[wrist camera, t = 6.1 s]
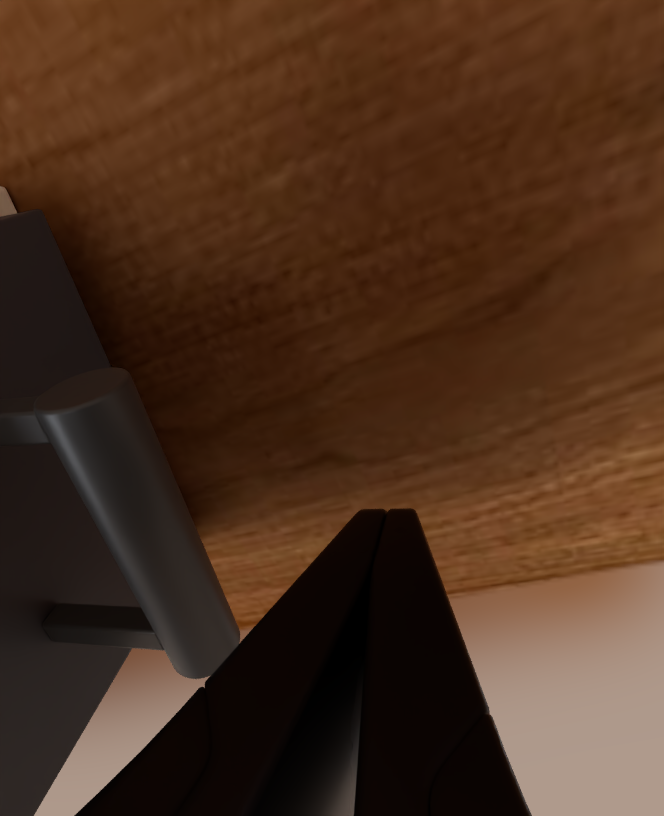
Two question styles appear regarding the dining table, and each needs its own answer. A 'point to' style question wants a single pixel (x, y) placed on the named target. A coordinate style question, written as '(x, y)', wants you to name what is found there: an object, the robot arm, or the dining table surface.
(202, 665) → the drawer
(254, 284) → the dining table surface
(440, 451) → the dining table surface
